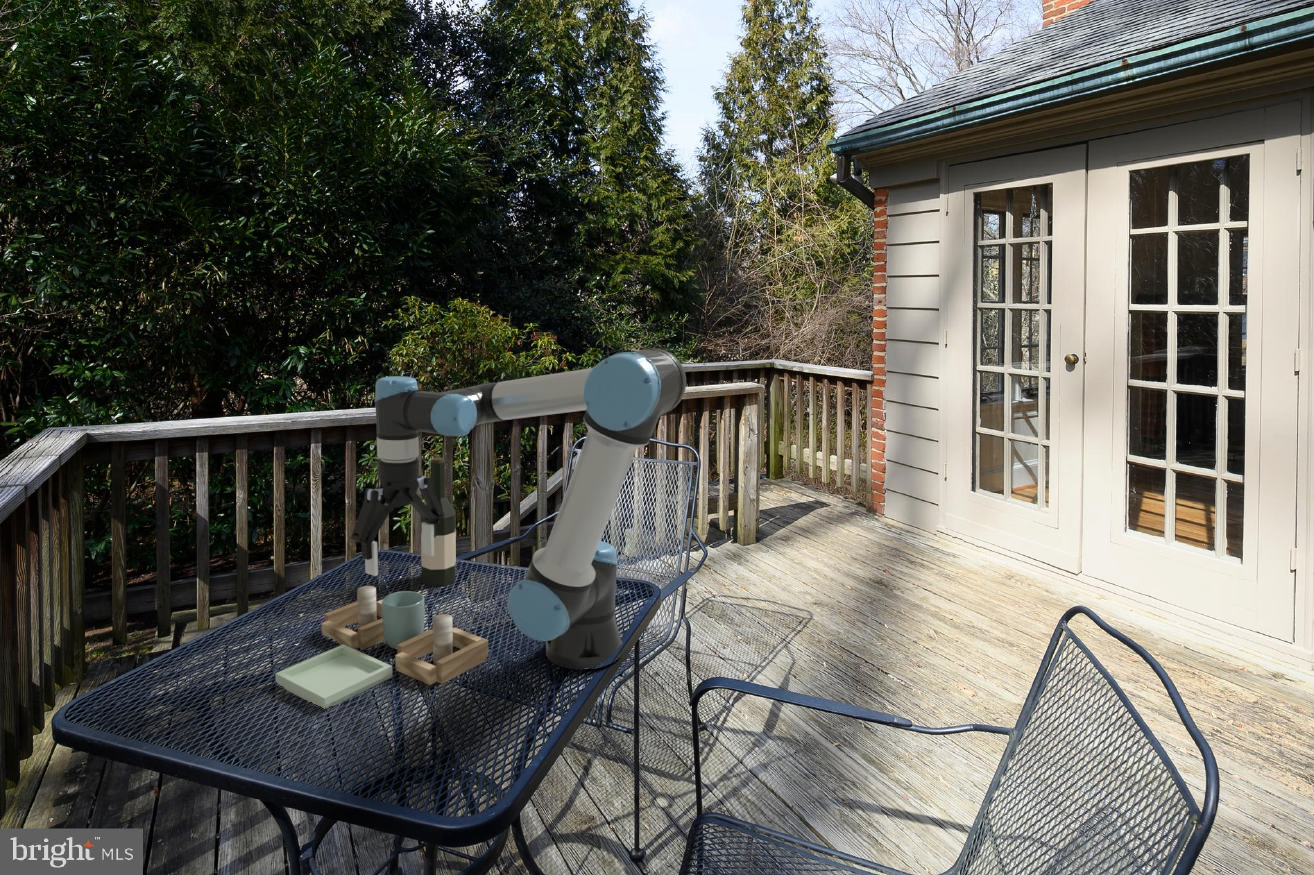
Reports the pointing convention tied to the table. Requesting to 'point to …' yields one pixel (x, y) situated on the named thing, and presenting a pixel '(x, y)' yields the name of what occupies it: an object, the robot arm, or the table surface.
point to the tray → (334, 676)
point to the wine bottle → (440, 535)
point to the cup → (402, 617)
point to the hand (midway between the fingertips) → (401, 564)
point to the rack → (425, 643)
